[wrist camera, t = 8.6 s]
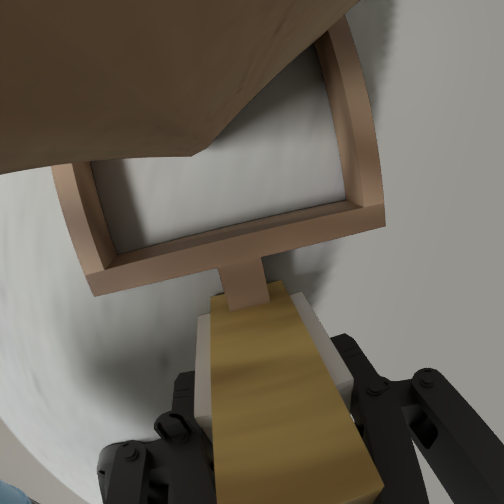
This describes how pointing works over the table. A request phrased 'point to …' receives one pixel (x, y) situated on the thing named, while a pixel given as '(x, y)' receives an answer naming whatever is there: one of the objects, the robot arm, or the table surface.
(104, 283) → the pull yoke
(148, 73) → the wooden block
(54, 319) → the table surface
